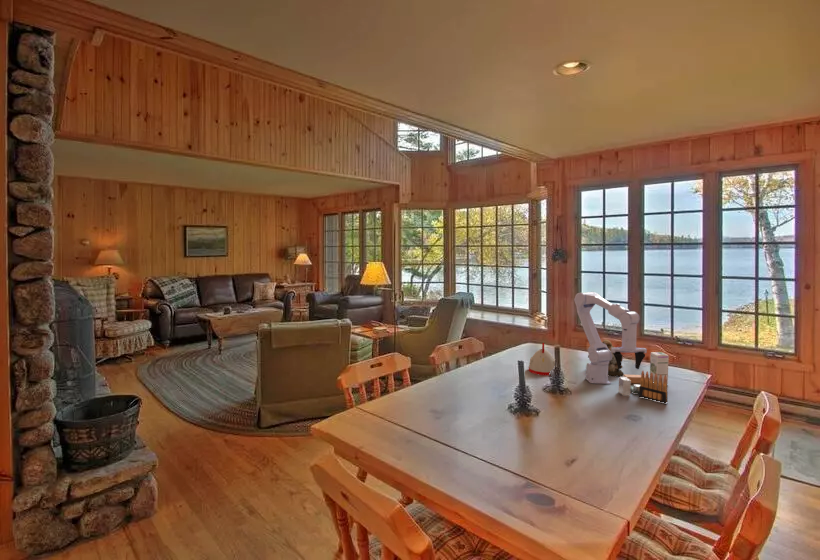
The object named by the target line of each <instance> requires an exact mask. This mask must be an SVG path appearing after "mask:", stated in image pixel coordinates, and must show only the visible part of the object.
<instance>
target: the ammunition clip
mask: <svg viewBox="0 0 820 560" xmlns="http://www.w3.org/2000/svg"><path fill="white" fill-rule="evenodd" d="M640 375H641V380H640V389H639V394H638V398H639V397H644V398H648V399H652V400H656V401H660V402H664V403H666V402H668V385H667V377H666V375H665V377H664V382H663V384H662V375H661V374H660V376H659V383H658V378H657V373H656V374H655V377H654V383H653V374H652V372H651V374H650V373H649V371H646V373H645V372H644V370H642V371H641V374H640ZM644 375H646V376H645V380H644ZM649 378H650V380H649Z"/></svg>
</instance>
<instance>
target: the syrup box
mask: <svg viewBox="0 0 820 560" xmlns="http://www.w3.org/2000/svg"><path fill="white" fill-rule="evenodd" d="M669 357H670V355H668V354H666V353H665V352H661V351H655V352H654V351H652V352H650V361H649V362H650V365H649V366H650V367H649V375H650V374H651V372H652V374H653V382H654V377H655V374H656V373H657V378H658V383H659V376H660V374H661V375H662V384H663V382H664V377H665V375H666V377H667V384H669Z"/></svg>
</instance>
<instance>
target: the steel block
mask: <svg viewBox="0 0 820 560" xmlns="http://www.w3.org/2000/svg"><path fill="white" fill-rule="evenodd" d="M630 388H631V380H629V379H628V378H627V377H623V376H620V377H618V393H619V392H620V393H621V394H622V395H630V396H631V392H630ZM620 393H619V394H620ZM621 394H620V395H621ZM622 395H621V396H622Z"/></svg>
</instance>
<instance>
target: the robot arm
mask: <svg viewBox="0 0 820 560" xmlns="http://www.w3.org/2000/svg"><path fill="white" fill-rule="evenodd" d="M573 302H574V304H575V306H576V312H577V316H578V317H579V321H580V323H581V326H582V329H583V331H584V333H585V336H586V339H587V341H588V344H589V347H588V348H587V352H588V355H589V358H588V360H589V361H590V362H588V363H586V366H585V379H586V380H587V381H588V382H589V383H590V384H608V385H609V384H610V385H611V384H612V383H611V381H609V376H608V364H609V361H611V359H612V353H613V355H614V357H615V359H616V362H617V366H618V368H619V369H620V370H622V368H621V365H622V362H623V359H622V357H623V353H625V354H627V353H630V354H631V353H632V354H634V356H635V357H634V359H635V360H634V361H635V365H634V366H635V369H636V370H639V369H640V366H641V364H642V362H643V360H644V358H645V357H646V354H647V353H648V351H647V350H648V349H647V348H645V347H637V332H638V331H637V329H638V328H637V327H638V324H639V323H640V320H641V317H640V314H639V313H638V312H637V311H635V310H633V311H630V309H629V308H625V307H623V306H621V303H611V302H610V301H609V300H607V299H605V298H604V297H602V296H600V294H599V293H597V292H595V291H589V292H588V291H587V292H578V293H576V294H575V295H574V298H573ZM595 305H597V306H598V307H600V308H603V309H605V310H606V311H608V314H609V315H611V316H613V317H614V318H615V319H617V320H619V322H620V323H621V328H622V329H621V331H622V332H621V346H617V347H615V346H614V347H615V348H611V351H610V350H609V349H608V347H607V345H605V344H604V343H602V342H603V341H602V339H601V338H600V335H599V332H598V330H597V327H596V324H595V323H594V320H593V318H592V315H591V313H590V312H591V310H592V309H593V308H594V307H595ZM611 352H612V353H611ZM621 361H622V362H621Z"/></svg>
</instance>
